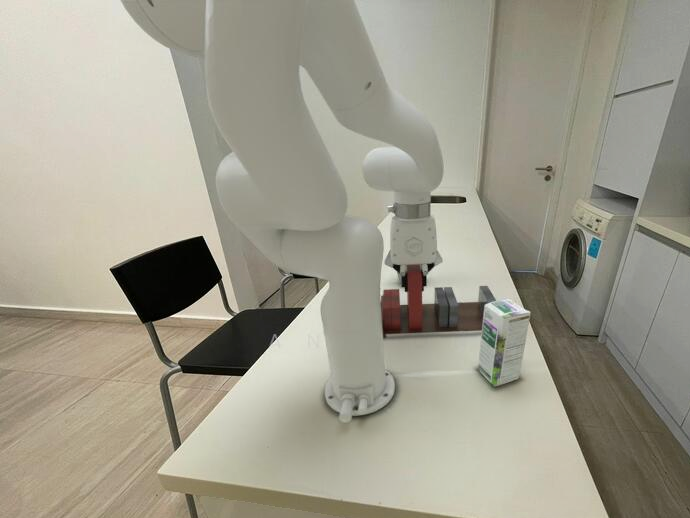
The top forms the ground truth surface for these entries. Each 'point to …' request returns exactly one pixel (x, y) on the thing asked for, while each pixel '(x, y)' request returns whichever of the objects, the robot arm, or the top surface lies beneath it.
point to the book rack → (435, 312)
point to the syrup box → (503, 341)
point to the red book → (414, 296)
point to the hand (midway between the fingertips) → (413, 288)
